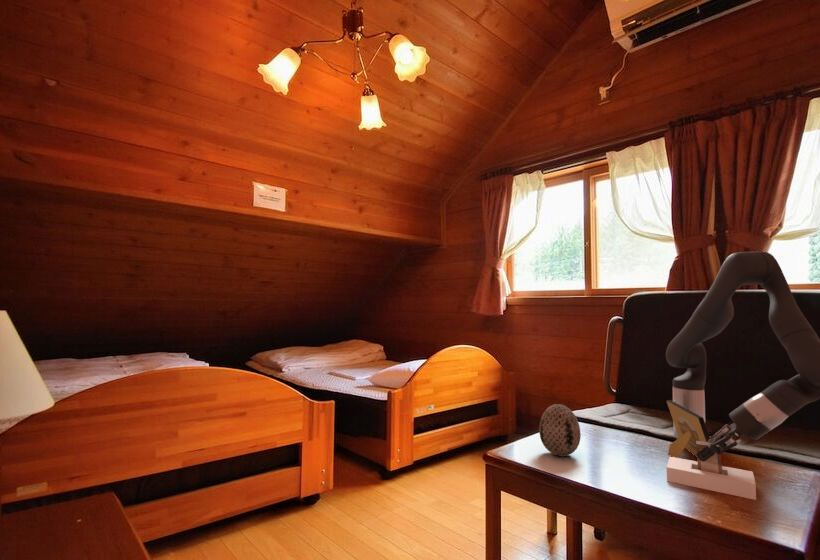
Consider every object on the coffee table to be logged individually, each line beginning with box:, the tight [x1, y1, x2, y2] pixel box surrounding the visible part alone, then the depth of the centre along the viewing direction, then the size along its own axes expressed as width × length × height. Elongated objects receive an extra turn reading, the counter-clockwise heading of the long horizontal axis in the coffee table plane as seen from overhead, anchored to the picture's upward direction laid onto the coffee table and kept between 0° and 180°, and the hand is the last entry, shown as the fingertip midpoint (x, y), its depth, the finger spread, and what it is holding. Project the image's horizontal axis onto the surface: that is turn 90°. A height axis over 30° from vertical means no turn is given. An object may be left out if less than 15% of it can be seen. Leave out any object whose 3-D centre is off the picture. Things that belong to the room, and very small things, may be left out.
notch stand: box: [666, 456, 757, 501], centre depth 110 cm, size 10×18×4 cm, turn 55°
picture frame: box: [666, 399, 711, 458], centre depth 130 cm, size 23×9×15 cm, turn 168°
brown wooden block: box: [696, 441, 723, 474], centre depth 111 cm, size 3×5×8 cm, turn 55°
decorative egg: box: [538, 403, 582, 457], centre depth 130 cm, size 12×12×15 cm
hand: (699, 456), depth 112 cm, fingers closed on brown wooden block, 3 cm apart
